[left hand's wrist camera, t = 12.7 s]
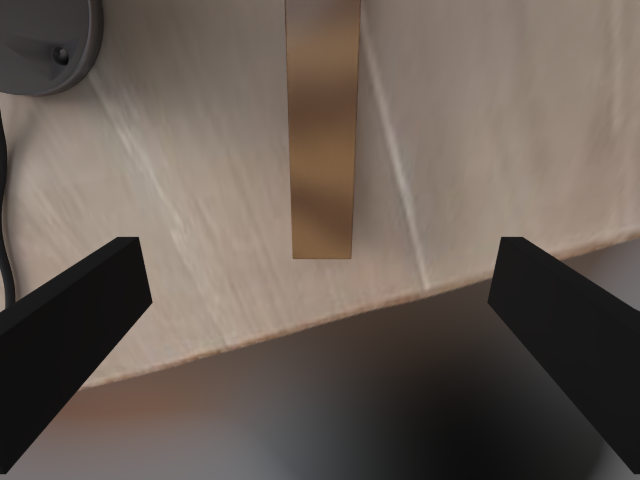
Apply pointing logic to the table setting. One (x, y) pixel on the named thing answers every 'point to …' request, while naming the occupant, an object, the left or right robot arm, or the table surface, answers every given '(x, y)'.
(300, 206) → the brown wooden bar
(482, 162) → the table surface
